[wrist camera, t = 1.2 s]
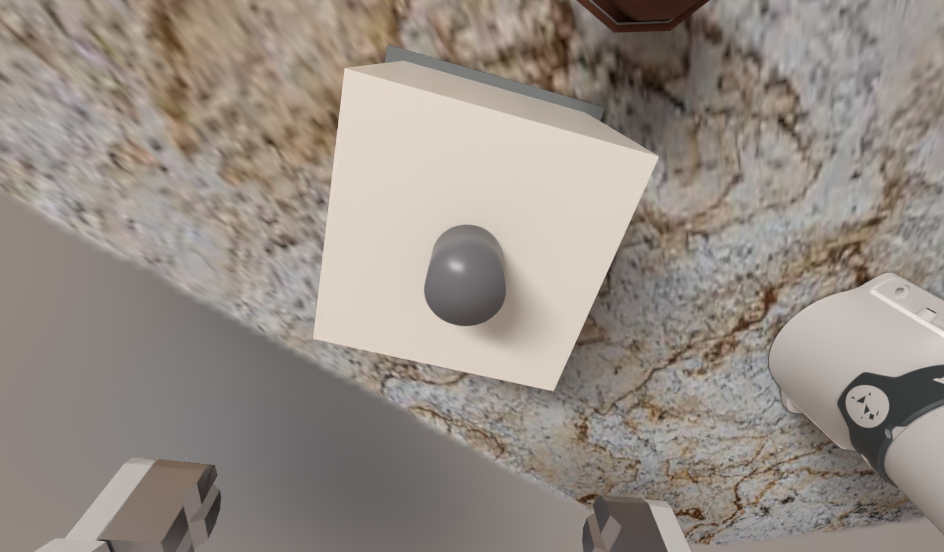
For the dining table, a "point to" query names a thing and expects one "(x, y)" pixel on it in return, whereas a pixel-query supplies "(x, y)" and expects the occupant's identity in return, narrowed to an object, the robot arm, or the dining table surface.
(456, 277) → the cube with grey knob
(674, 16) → the ice cream bowl
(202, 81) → the dining table surface
